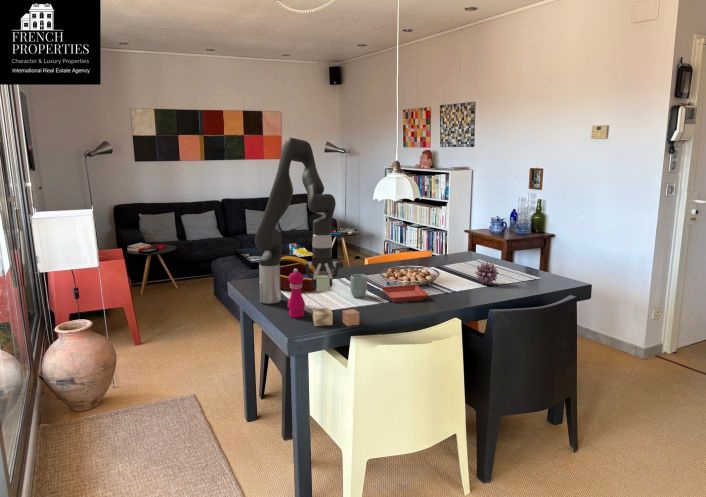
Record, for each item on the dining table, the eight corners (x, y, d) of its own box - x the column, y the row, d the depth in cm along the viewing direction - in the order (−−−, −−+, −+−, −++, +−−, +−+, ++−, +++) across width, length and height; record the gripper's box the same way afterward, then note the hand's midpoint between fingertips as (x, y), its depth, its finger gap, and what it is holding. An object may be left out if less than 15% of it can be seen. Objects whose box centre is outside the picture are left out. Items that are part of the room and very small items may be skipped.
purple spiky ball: (500, 283, 276) (502, 261, 273) (493, 288, 266) (494, 265, 263) (479, 280, 282) (480, 258, 279) (471, 285, 272) (472, 262, 269)
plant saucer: (391, 304, 240) (391, 297, 240) (380, 293, 258) (380, 286, 257) (429, 301, 244) (429, 294, 244) (415, 291, 262) (415, 284, 261)
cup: (365, 299, 246) (365, 278, 244) (348, 298, 248) (348, 277, 246) (368, 294, 254) (368, 274, 252) (352, 293, 255) (352, 273, 253)
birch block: (314, 326, 210) (314, 314, 209) (312, 320, 216) (312, 309, 215) (332, 325, 211) (332, 313, 210) (329, 319, 218) (329, 308, 217)
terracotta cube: (347, 326, 210) (348, 314, 209) (342, 322, 214) (342, 310, 213) (359, 324, 212) (359, 312, 211) (353, 320, 216) (353, 309, 215)
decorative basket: (254, 287, 274) (249, 260, 270) (294, 270, 295) (291, 244, 290) (299, 301, 253) (296, 271, 248) (340, 281, 274) (337, 253, 269)
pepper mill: (288, 312, 226) (287, 266, 222) (305, 312, 226) (304, 266, 223) (287, 318, 219) (286, 270, 215) (305, 317, 219) (304, 270, 216)
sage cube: (316, 291, 208) (316, 278, 207) (315, 288, 213) (315, 275, 212) (329, 290, 209) (329, 278, 208) (327, 287, 214) (327, 275, 213)
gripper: (304, 247, 203) (305, 291, 206) (341, 246, 206) (341, 289, 209) (302, 244, 210) (303, 286, 213) (338, 243, 213) (338, 284, 216)
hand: (322, 287), depth 211 cm, fingers closed on sage cube, 5 cm apart
